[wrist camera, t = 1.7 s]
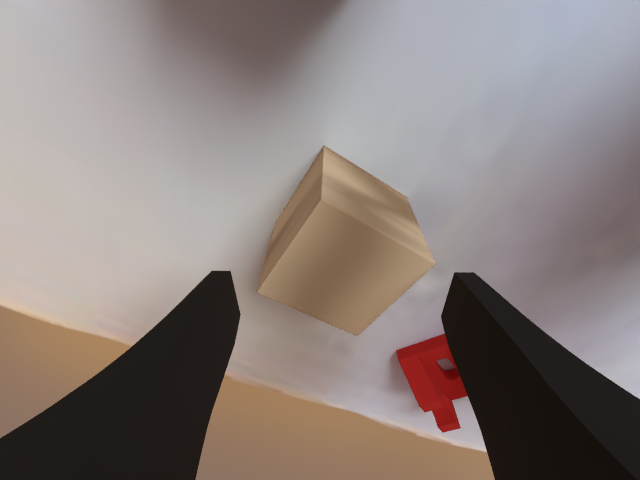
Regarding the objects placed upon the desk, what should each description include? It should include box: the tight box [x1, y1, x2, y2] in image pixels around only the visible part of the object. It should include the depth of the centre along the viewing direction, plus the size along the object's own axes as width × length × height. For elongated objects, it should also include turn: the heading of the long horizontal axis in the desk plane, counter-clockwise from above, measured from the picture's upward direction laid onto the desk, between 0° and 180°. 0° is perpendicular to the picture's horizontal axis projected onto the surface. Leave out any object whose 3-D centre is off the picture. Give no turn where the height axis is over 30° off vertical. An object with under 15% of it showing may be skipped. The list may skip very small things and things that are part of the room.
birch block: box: [257, 146, 435, 336], centre depth 13 cm, size 4×4×5 cm
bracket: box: [396, 334, 468, 432], centre depth 21 cm, size 6×5×3 cm
